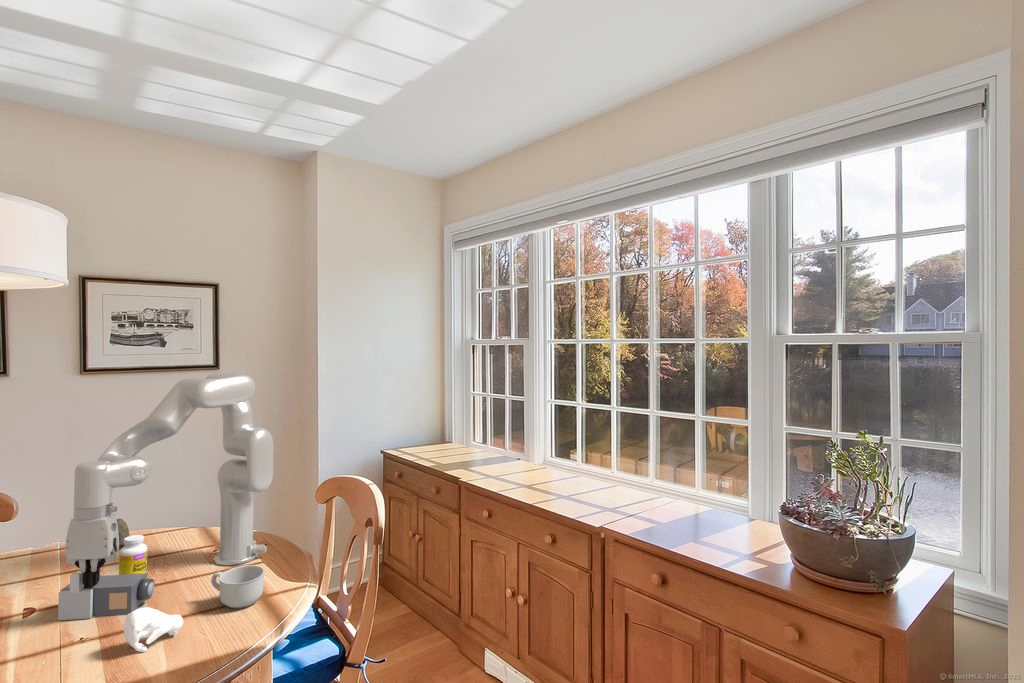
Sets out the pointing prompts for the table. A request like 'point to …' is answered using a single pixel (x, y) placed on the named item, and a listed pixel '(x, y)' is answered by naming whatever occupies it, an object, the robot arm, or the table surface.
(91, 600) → the grey t-shaped piece
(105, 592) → the camera body
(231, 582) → the teacup
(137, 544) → the supplement bottle
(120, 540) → the decorative egg
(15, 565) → the table surface
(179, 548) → the table surface
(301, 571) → the table surface
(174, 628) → the white figurine
